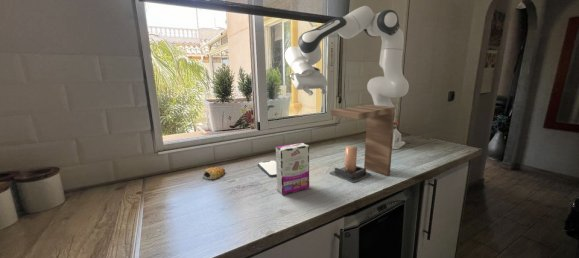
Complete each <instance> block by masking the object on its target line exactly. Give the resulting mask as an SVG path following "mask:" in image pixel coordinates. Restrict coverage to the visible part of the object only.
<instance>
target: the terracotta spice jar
mask: <svg viewBox="0 0 579 258" xmlns="http://www.w3.org/2000/svg"><path fill="white" fill-rule="evenodd" d="M357 151H358V147H356V146H355V145H347V146H345V151H344V152H345V153H344V155H345V156H344V167H345V171H347V172H350V173H354V172H356V166H357V155H358V152H357Z"/></svg>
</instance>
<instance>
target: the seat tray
mask: <svg viewBox="0 0 579 258" xmlns="http://www.w3.org/2000/svg"><path fill="white" fill-rule="evenodd" d="M329 175H331V176H333V177H336V178H339V179H342V180H344V181H347V182H349V183H352V184H355V183H357V182H358V181H361V180H363V179H365V178H367V177H370V176H372V173H370V172H367V169H365V168H364V167H362V166H357V165H356V172H354V173H350V172H347V171H345V166H343V167H341V168H338V167H334V170H333V171H330V172H329Z"/></svg>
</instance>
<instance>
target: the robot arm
mask: <svg viewBox="0 0 579 258" xmlns="http://www.w3.org/2000/svg"><path fill="white" fill-rule="evenodd" d="M362 31H364V33H365V34H366V35H367V36H368V37H371V38H377V37H380V38H381V46H380V54H379V61H378V63H379V67H380V68H381V69H382V71H383V76H375V77H372V78H370V79H369V80H368V82H367V85H366V89H367V92H368V93H369V94H370V96H371V98H372V101H373V105H378V106H388V107H395V114H396V112H397V111H396V106H395V105H394V104H393V102H392V100H391V98H393V99H396V98H402V97H405V96H406V95H407V94H408V92H409V90H410V88H409V87H410V86H409V81H408V80H407V79H406V78H405V76H404V74H403V70H402V60H403V51H404V46H405V45H404V43H405V42H404V41H405V39H404V32H403V30H402V29H400V18H399V15H398V13H397V12H396V11H395V10H393V9H385V10H384V9H383V10H382V11H380V12H378V13H374V12H373V10H372V8H370V7H369V6H368V5H363V6H360V7H357V8H355V9H354V10H352V11H350V12H349V13H347V14H346V15H344V16H338V17H335V18H332V19H331V20H328V21H327V22H325V23H324V24H323V23H322V24H321V25H319V26H318V27H316V28H314V29H310V30H307V31H304V32H303V33H302V34H301V35H299V37H298V40H297V45H298V46H294V45H291V46H289V47H287V50H286V51H285V52H284V53H285V54H284V58H285V61H286V63H287V64H288V66H289V68H290V69H291V70H292V71H293V72H292V73H290V74H289V77H290V79H291V82H292V85H293V87H294V88H295V89H296V90H297V91H298V90H299V91H300V90H303V91H304V93H306V94H307V95H308V96H313V95H314V92H313V90H315V89H316V90H317V89H320V90H321V94H322V95H326V94H327V90H326V87H327V86H328V85H329V81H328V80H327V78H326V76H325V75H324V74H323V73H322V72H321V69H320V68H318V67H316V66H314V65H315V64H317V63H319V62H320V60H321V59H322V56H323V55H322V50H321V42H322V41H323V40H325V39H326V38H328V37H329V36H332V35H333V34H336V33H337V34H338V35H339V36H340V37H341V38H343V39H346V40H349V39H352V38H353V37H356V36H357V35H358V34H360V33H362ZM398 125H399V122H398V121H396V117H395V118H394V131H393V143H392V150H399V149H401V147H403V146H404V145H406V142H405V141H403V140H402V133H401V132H399V129H397V126H398Z"/></svg>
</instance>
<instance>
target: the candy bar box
mask: <svg viewBox="0 0 579 258" xmlns="http://www.w3.org/2000/svg"><path fill="white" fill-rule="evenodd" d="M275 161H276V171H277V177H276V190H277V191H278V192H279V193H280V194H281V195H282V196H285V195H289V194H293V193H297V192H300V191H305V190H308V189H310V145H309V144H307V143H304V142H299V143H294V144H286V145H281V146H275Z"/></svg>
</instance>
